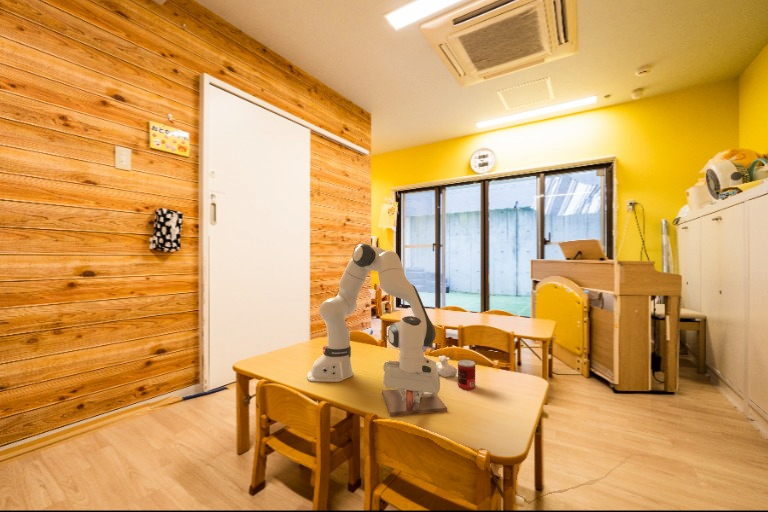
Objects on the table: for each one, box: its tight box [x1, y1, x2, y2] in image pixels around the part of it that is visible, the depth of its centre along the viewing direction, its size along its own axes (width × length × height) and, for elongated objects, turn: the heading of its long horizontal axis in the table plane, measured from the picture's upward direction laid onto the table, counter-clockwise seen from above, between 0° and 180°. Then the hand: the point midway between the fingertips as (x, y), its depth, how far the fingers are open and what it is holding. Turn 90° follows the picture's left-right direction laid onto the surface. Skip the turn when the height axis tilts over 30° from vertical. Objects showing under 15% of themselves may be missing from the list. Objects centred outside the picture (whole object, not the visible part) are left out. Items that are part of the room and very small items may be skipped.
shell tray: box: [404, 390, 432, 398], centre depth 130 cm, size 10×9×2 cm
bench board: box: [381, 388, 448, 417], centre depth 124 cm, size 22×19×4 cm
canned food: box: [457, 359, 476, 391], centre depth 139 cm, size 8×8×11 cm
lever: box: [406, 390, 423, 412], centre depth 119 cm, size 22×4×7 cm, turn 161°
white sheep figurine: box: [436, 355, 458, 378], centre depth 152 cm, size 12×8×11 cm
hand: (411, 401), depth 110 cm, fingers open, 3 cm apart
